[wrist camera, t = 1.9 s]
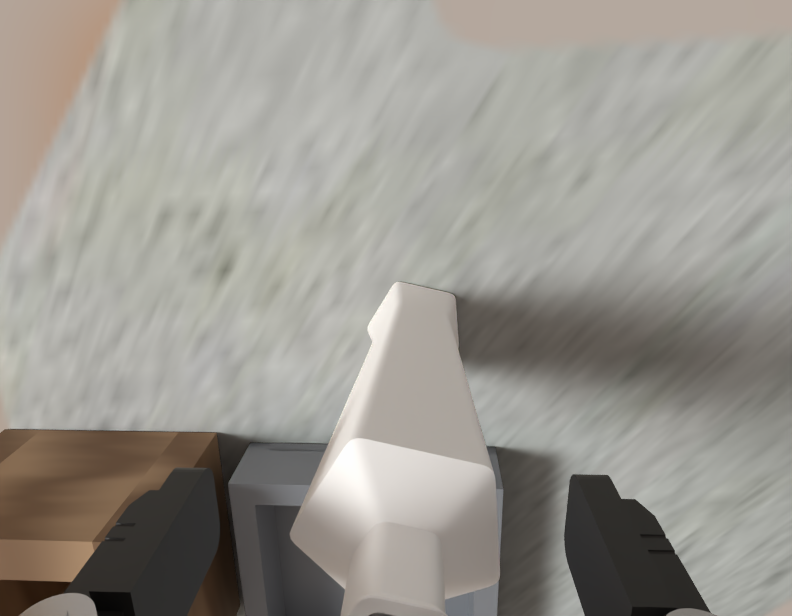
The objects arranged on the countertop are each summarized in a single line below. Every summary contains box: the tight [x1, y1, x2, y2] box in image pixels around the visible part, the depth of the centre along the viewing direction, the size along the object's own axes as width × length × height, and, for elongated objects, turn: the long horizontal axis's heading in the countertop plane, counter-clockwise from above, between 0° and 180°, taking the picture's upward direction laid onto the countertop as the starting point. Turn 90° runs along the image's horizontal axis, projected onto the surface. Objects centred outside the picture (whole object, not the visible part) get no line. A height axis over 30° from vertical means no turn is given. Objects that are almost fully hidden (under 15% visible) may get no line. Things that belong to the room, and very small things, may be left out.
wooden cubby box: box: [0, 429, 240, 616], centre depth 24 cm, size 10×10×7 cm
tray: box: [228, 443, 503, 616], centre depth 26 cm, size 11×11×3 cm
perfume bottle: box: [290, 282, 500, 616], centre depth 16 cm, size 5×4×15 cm
